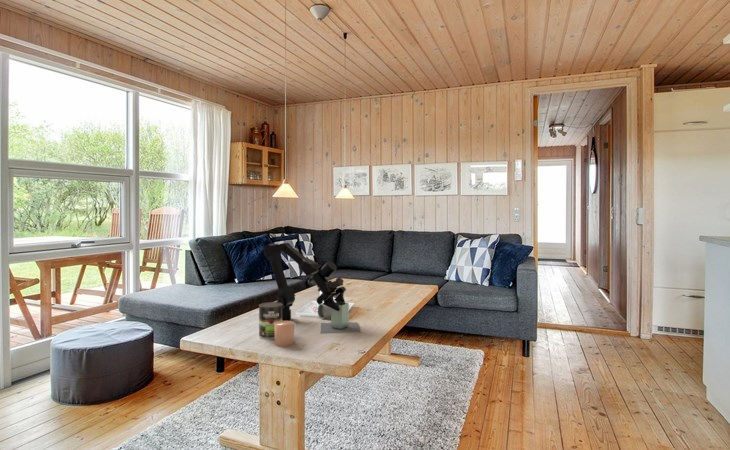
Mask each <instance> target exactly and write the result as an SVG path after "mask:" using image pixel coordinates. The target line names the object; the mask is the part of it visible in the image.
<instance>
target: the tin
mask: <svg viewBox="0 0 730 450" xmlns="http://www.w3.org/2000/svg"><path fill="white" fill-rule="evenodd" d="M335 303H336V305H337V306H338V308H339V311H336V310H334V309H332V308H331V318H330V323H331V327H332V328H338V329H344V328H345V327H347V326H349V322H350V321H349V320H350V319H349V318H350V317H349V313H350V312H349V309H350V308H349V306H350V305H349V302H346V301H345V302H336V301H335Z"/></svg>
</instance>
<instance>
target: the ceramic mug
mask: <svg viewBox="0 0 730 450" xmlns="http://www.w3.org/2000/svg"><path fill="white" fill-rule="evenodd" d="M317 315H318V318H319V319H321V320H325V319H326V320H327V319H331V308H330V307H328V306H326V305H323V303H322V304H320V305H319V304H318V308H317Z"/></svg>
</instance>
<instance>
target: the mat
mask: <svg viewBox="0 0 730 450" xmlns="http://www.w3.org/2000/svg"><path fill="white" fill-rule="evenodd" d="M359 325H360V324H359V323H358V321H355V322H350V321H349V326H347V327H345V328H344V329H338V328H332V327H331V322H321V323H320V334H345V333H346V334H347V333H349V334H350V333H351V334H352V333H361V330H360V327H359Z"/></svg>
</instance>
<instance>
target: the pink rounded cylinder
mask: <svg viewBox="0 0 730 450" xmlns="http://www.w3.org/2000/svg"><path fill="white" fill-rule="evenodd" d="M274 333H275V338H274V345H275V346H276V347H282V348H283V347H290V346H292V345H294V344H295V322H294V321H291V320H289V321H278V322H276V323H275V324H274Z"/></svg>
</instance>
